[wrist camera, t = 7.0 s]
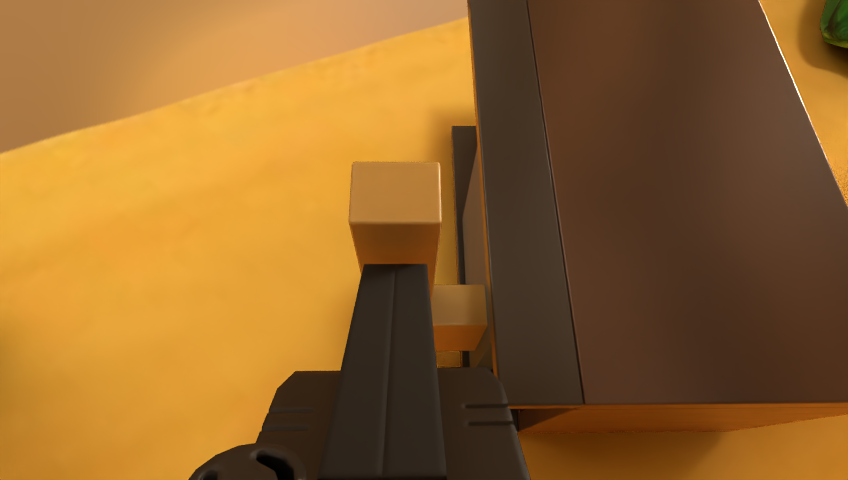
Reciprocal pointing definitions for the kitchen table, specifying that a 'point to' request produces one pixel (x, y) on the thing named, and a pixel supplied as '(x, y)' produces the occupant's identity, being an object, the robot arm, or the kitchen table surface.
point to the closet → (652, 219)
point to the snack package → (835, 23)
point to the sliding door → (425, 245)
